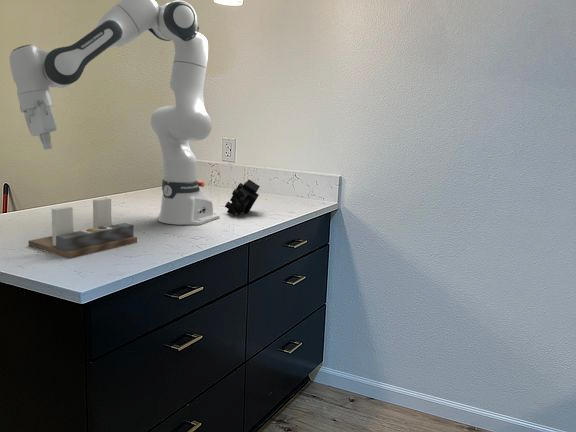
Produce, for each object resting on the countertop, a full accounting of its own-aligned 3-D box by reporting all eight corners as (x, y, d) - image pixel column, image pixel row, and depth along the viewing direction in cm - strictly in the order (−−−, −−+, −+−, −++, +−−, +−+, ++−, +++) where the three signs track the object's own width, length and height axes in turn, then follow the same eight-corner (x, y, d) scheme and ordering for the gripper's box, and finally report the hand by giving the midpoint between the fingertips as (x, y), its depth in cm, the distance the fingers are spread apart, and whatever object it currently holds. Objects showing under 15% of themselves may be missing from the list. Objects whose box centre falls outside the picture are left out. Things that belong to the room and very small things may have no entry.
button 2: (106, 230, 174) (105, 197, 172) (111, 231, 173) (111, 198, 171) (92, 232, 170) (91, 199, 168) (97, 234, 168) (97, 200, 166)
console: (97, 232, 178) (96, 214, 177) (137, 242, 168) (137, 224, 167) (28, 245, 159) (27, 226, 158) (69, 258, 150) (68, 237, 148)
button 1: (67, 241, 159) (66, 206, 157) (73, 243, 158) (72, 207, 155) (51, 244, 155) (50, 208, 153) (57, 246, 153) (56, 209, 151)
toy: (219, 214, 211) (234, 195, 224) (238, 226, 212) (252, 206, 224) (231, 191, 205) (246, 173, 217) (251, 204, 205) (265, 185, 217)
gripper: (55, 97, 162) (67, 145, 164) (40, 104, 179) (51, 148, 181) (31, 100, 158) (44, 149, 161) (18, 107, 175) (30, 152, 178)
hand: (48, 149), depth 171 cm, fingers closed
